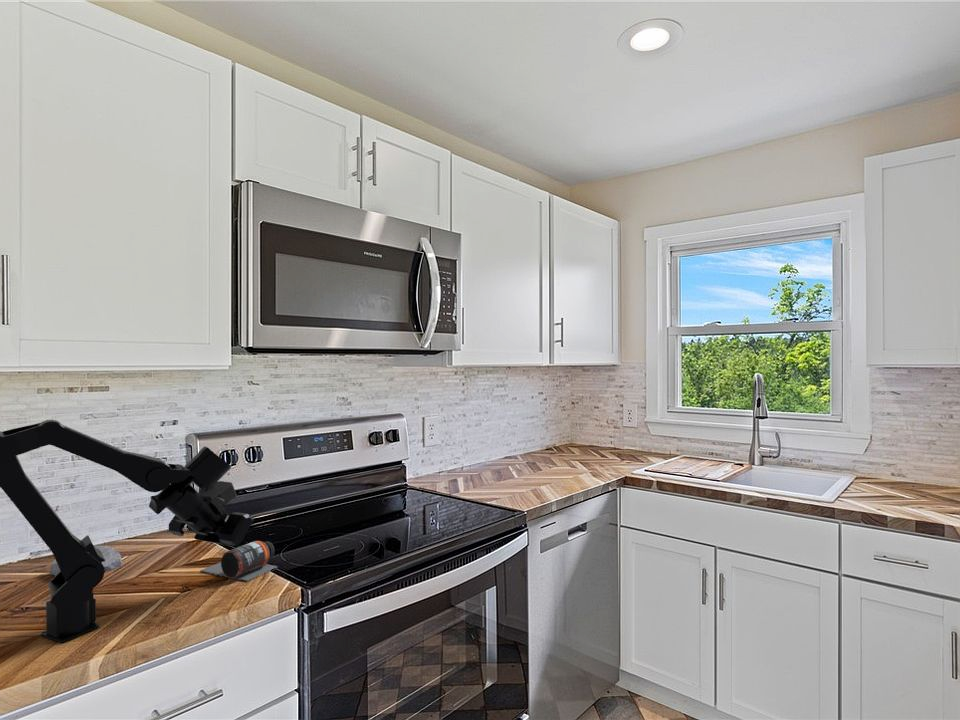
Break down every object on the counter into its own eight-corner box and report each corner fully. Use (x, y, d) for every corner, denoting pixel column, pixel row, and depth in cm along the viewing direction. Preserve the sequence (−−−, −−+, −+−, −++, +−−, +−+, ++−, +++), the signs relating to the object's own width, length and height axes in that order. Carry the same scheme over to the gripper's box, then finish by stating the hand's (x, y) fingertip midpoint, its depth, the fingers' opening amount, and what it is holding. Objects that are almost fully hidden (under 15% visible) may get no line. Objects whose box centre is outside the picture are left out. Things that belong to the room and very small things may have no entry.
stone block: (126, 574, 137) (103, 558, 142) (128, 554, 136) (104, 539, 141) (70, 593, 127) (47, 576, 132) (71, 573, 126) (48, 555, 131)
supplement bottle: (220, 578, 129) (260, 562, 139) (239, 580, 127) (279, 563, 137) (218, 550, 129) (258, 536, 140) (238, 551, 127) (277, 537, 137)
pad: (247, 581, 127) (247, 580, 127) (200, 572, 133) (200, 570, 133) (277, 568, 136) (277, 566, 136) (232, 559, 141) (232, 557, 141)
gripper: (246, 475, 119) (285, 516, 129) (180, 467, 126) (222, 507, 136) (214, 524, 111) (258, 564, 122) (146, 513, 119) (193, 551, 129)
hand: (232, 544), depth 127 cm, fingers closed
